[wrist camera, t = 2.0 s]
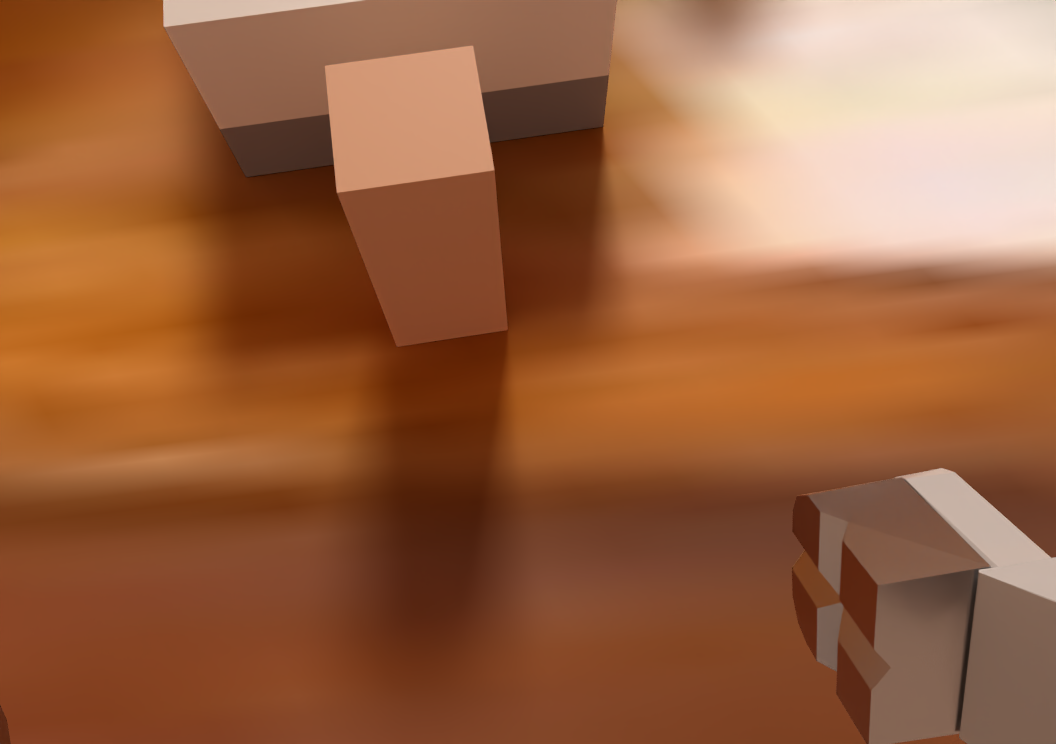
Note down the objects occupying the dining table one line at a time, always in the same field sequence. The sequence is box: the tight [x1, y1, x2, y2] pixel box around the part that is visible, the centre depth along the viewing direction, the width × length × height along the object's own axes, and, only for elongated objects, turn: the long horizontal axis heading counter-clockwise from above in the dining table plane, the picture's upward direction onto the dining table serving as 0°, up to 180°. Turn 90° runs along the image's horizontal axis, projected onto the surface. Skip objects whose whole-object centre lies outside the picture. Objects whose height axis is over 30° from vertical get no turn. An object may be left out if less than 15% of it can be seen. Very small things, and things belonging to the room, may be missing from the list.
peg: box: [325, 46, 508, 347], centre depth 28 cm, size 4×4×10 cm
